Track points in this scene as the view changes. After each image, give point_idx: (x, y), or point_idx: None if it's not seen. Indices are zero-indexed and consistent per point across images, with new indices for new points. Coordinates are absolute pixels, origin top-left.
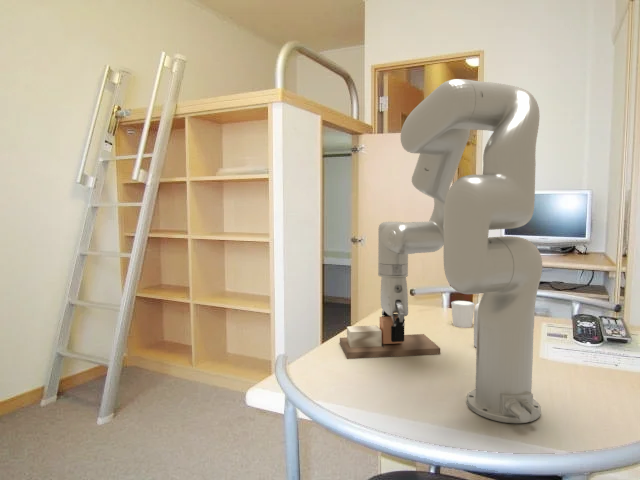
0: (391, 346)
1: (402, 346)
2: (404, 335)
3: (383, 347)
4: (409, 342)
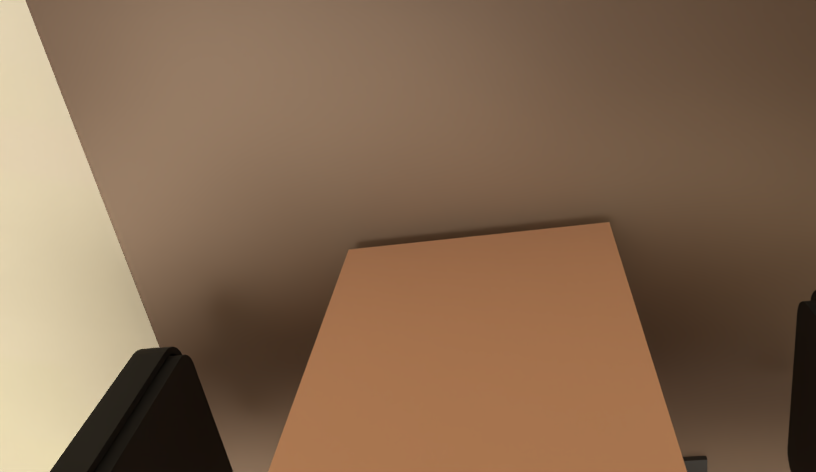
0: (674, 370)
1: (700, 224)
2: (98, 98)
3: (709, 467)
4: (493, 75)
